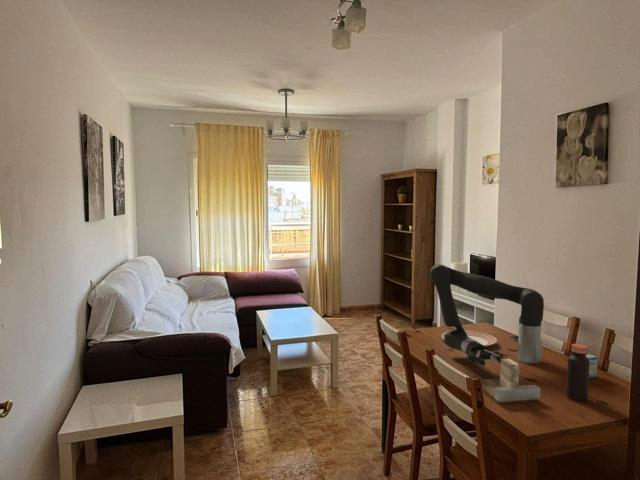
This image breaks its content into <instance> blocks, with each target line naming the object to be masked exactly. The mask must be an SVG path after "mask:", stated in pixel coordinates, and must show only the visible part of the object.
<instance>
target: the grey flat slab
mask: <svg viewBox="0 0 640 480" xmlns="http://www.w3.org/2000/svg"><path fill="white" fill-rule="evenodd" d="M480 380H481V382H482V387H483V391H482V393H484V394H485V395H486V396H487V397H488V398H490V399H491V400H492V401H493V402H494V403H496V404H497V405H500V404H511V403H512V404H513V403H514V404H515V403H526V402H527V403H528V402H538V401H539V399H532V400H518V401H503V402H499V401H498V400H496V399H495V398H494V397H495V387H500V377H499V378H488V379H487V378H485V379H480ZM518 386H521V385H519V384H518Z"/></svg>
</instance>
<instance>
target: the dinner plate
mask: <svg viewBox="0 0 640 480" xmlns="http://www.w3.org/2000/svg"><path fill="white" fill-rule="evenodd" d="M447 332H448V331H446V332H444V333H442V334H441V338H442V339H443V340H444V341H445V339H444V336H445V334H446V333H447ZM465 332H466V334H467V336H468V337H469V338H471V339H473V340H475V341H477V342H479V343H480V344H482V345H484V346H485V348H487V347H490V346H493V345H495V344H496V343H497V341H498V340H497V338H496V337H495V336H492V335H490V334H488V333H484V332H478V331H472V330H465Z"/></svg>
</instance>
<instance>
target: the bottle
mask: <svg viewBox="0 0 640 480" xmlns="http://www.w3.org/2000/svg"><path fill="white" fill-rule="evenodd" d="M571 353H572V354H570V355H569V356H568V358H567V374H566V375H567V376H566V377H567V378H566V392H565V393H566V394H565V395H566V397H567V398H568V399H570V400H572V401H575V402H581V403H585V402H587V401H589V385H590V384H589V382H590V380H589V379H590V378H589V365H590V361H589V359H588V358H587V357H586V354H588V346H587V345H584V344H581V343H572V344H571Z"/></svg>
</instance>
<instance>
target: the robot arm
mask: <svg viewBox="0 0 640 480" xmlns="http://www.w3.org/2000/svg"><path fill="white" fill-rule="evenodd" d="M429 277H430V279H431V281H432V282H433V284H434V287H435V289H436V291H437V294H438V298H439V305H440V310H441V315H442V319H443V323H444V325H445V326H446V327H448V328H452V327H453V328H454V327H455V329H454V330H451V331H446V332H447V333H446V332H445V333H446V334H445V336H444V339H445V340H444V339H443V340H444V342H445V344H446V345H447V346H448V347H450V348H452V349H456V350H460V351H462V352H463V353H464V354H465V359H466V360H468V361H469V362H470V363H474V362H475V364H476V363H478V364H480V365H482V366H485V365H486V362H485V361H491V362H494V361H495V362H498V363H500V364H501V359H504V354H503V353H501V352H499V351H498V350H496V349H495V350H494V349H493V351H489V350H487V347H485V346H484V345H482V344H480V343H479V342H477V341H475V340H473V339H471V338H469V337H468V336H467V334H466V332H465V331H466V330H465V329H464V327H463V324H462V323H461V321H460V317H459V314H458V310H457V307H456V302H455V300H454V297H453V296H454V295H453V293H452V288H451V287H452V286H455V287H457V288H461V289H463V290H465V291H467V292H470V293H472V294H475V295H478V296H481V297H485V298H489V299H497V300H506V301H508V302H509V301H510V302H512V303H516V304H517V305H519V306H521V309H520V310H521V311H520V316H519V318H518V335H517V336H518V342H517V359H518V361H520V362H523V363H527V364H538V363H541V362H543V361H542V360H543V341H542V339H541V335H542V321H543V319H544V309H545V302H544V297H543V295H542V294H541V293H540V292H538V291H536V290H535V289H533V288H528V287H527V288H526V287H521V286H516V285H511V284H508V283H505V282H503V281H500V280H497V279H494V278H491V277H489V276H484V275H479V274H474V273H471V272H464V271H460V270H456V269H455V268H454V269H453V268H451V267H449V266H446V265H444V264H441V263H439V264H435V265H433V266H432V267H431V268H430V270H429Z"/></svg>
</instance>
